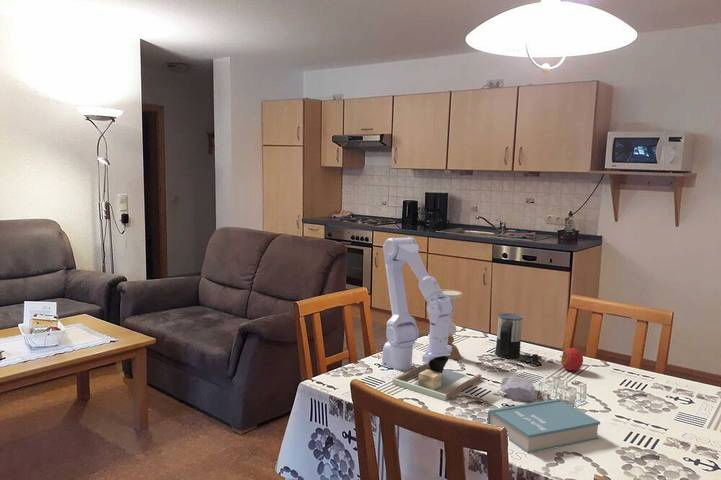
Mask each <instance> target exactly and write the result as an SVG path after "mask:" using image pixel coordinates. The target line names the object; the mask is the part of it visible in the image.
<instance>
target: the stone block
mask: <svg viewBox="0 0 721 480" xmlns="http://www.w3.org/2000/svg"><path fill="white" fill-rule="evenodd" d="M499 388H500V389H501V390H502V393H504V395H503V397H504V398H505V399H507V400H513V401H525V402H534V401H535V395H536V387H535V385H534V383H533V379H532V378H530V379H529V378H525V377H522V376H508V377H507V376H506V377H504V378H502V379H501V383H500V387H499Z"/></svg>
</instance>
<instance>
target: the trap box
mask: <svg viewBox="0 0 721 480" xmlns="http://www.w3.org/2000/svg"><path fill="white" fill-rule="evenodd" d="M427 369H430V367H429V364H428V363H426V362H425V363H424V364H422V365H419V366H417V367H415V368H413V369H411V370H408V371H406V372H404V373H402V374H400V375H398V376H396V377H394V378H392V385H395V386H398V387H401V388H404V389H407V390H410V391H414V392H417V393H420V394H423V395H426V396H430V397H432V398H434V399H438V400H441V401H445V402H446V401H447V400H448V399H449V400H450V399H451V398H452V397H454V396H455V395H457V394H459V393H461V392H462V391H464V390H466V389H467V388H469V387H471V386H472V385H474V384H476V383H478V382H479V381H481V380H482V374H481V373H478V374H476V375H475V376H473V377H472V378H470V379H468V380H466V381H465V382H463V383H461V384H459V385H457V386H455V387H454V388H452V389H450V390H448V391H447V392H445V393H442V392H440V390H443V389H445V388H447V387H449V385H451V384H453V383H455V382H458V381H459V380H460V379H462V378H465V377H466V376H467V374H464V373H460V372H458V371H454V370H451V369H446V368H444V369H443V372H442V377H441V386H440V387H438V388H436V389H435V390H430V389H427V388H424V387H421V386H418V382H415V383H410V382H408V381H405V380H407V379H409V378H412V377H413V376H415V375H417V374H419V373H421V372H423V371H425V370H427Z"/></svg>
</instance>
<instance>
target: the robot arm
mask: <svg viewBox="0 0 721 480" xmlns="http://www.w3.org/2000/svg"><path fill="white" fill-rule="evenodd" d="M382 250H383V257H384V258H383V259H384V265H385V272H386V280H387V287H388V294H389V301H390V308H391V317H390V318H389V319H388V320H387V322H386V331H385V335H386V340H387V342H385V344H384V345H383V349H382V361H381V368H383V367H385V366H386V367H389V368H391V369H393V370H399V371H407V370H408V371H409V370H410V369H412V367H413V347H414V346H413V345H415V343H416V341H417V340H418V338H419V334H420V331H419V328H418V326H417V322H416V319H415V318H414V317H413V316H412V315H410V313H409V310H408V309H409V307H408V300H407V293H406V287H405V280H404V279H405V278H404V272H403V266H404V265H405V263H407V265H408V266H409V268H410V269H411V270H412V272H413V273H414V275H415V276H416V278H417V280H418V285H417V286H418V288H419V289H418V290H420V293H421V294H422V296H423V298H424V300H425V301H426V303H427V305H426V312H427V314H428V321H429V335H428V347H429V349H428V348H427V350H426V351H425V353H424V354H423V355H422V358H421V359H422V362H423V363H425V364H426V363H428V364H429V367H430V368H429V370H432V371H436V372H439V373H442V372H443V369H445V367H446V364H447V363H448V361H449V359H448V357H447V356H449V355H450V352H452V346H450V345H448V332H449V316H450V315H451V314H452V313H453V314H454V312H455V311H454V310H455V304H454V302H453V301H452V299H451V298H450V297H448V296H446V294H443V292H442V290H441V289H442V288H441V287H440V285H439V283H438V281H437V278H435V277H434V276H431V275H429V273H428V271H427V269H426V266H425V264H424V263H423V262H424V261H423V260H422V258H421V256H420V254H419V250H420V246H419V244H418V243H417V240H416V239H415V238H414V237H412V236H408V237H395V238H394V237H389V238H387V239H386V240H385V241H384V243H383V245H382ZM453 311H454V312H453ZM453 314H452V315H453Z"/></svg>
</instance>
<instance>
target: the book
mask: <svg viewBox="0 0 721 480" xmlns="http://www.w3.org/2000/svg"><path fill="white" fill-rule="evenodd" d="M486 420H487V423H486V424H487V425H488V424H491V425H496V426H501V427H505V428H506V429H507V431H508V437H509V440H508V441H510V442H511V443H512V444H514V445H515V446H516V447H518V448H520V449H521V450H522V451H524V452H525V453H526V452H527V453H526V454H531V453H530V452H532V453H535V452H534V451H536V452H540V451H539V450H541V451H546V450H551V449H555V447H556V448H560V447H565V445H566V446H571V445H576V444H579V443H585V442H590V441H594V440H599V439H600V438H599V437H598V429H599V426H600V425H601V421H599V420H598V419H596V418H594V417H592V416H590V415H589V414H587V413H585V412H582V411H581V410H579V409H577V408H576V407H573V406H571V405H570V404H568V403H566V402H564V401H562V400H560V399H558V398H555V399H554V398H553V399H549V400H542V401H537V402H536V401H535V402H531V403H530V402H529V403H524V404H517V405H511V406H504V407H500V408H499V407H498V408H493V409H489V410H488V411H487V419H486ZM550 448H551V449H550ZM545 449H546V450H545Z"/></svg>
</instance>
